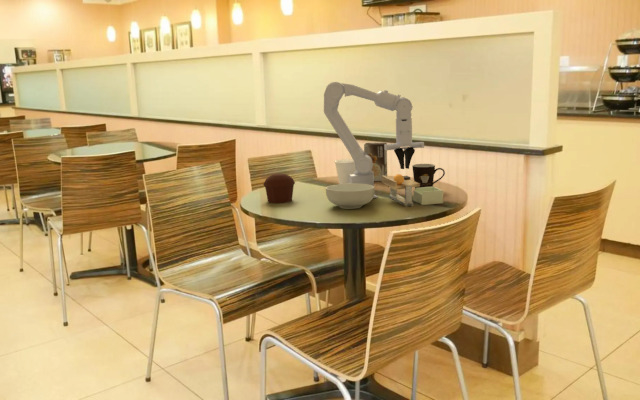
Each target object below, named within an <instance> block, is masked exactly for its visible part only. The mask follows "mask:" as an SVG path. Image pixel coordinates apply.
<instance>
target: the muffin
mask: <svg viewBox="0 0 640 400" xmlns="http://www.w3.org/2000/svg"><path fill="white" fill-rule="evenodd" d="M294 185H296V182H295V180H294V179H293V177H292V176H290V175H289V174H286V173H282V172H281V173H273V174H271V175H269V176H267V178H266V179H265V180H264V182H263V186H264V189H265V194H266V198H267V202H268V203H271V204H284V203H290V202H292V200H293V194H294Z"/></svg>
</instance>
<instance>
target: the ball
mask: <svg viewBox="0 0 640 400" xmlns="http://www.w3.org/2000/svg"><path fill="white" fill-rule="evenodd" d="M403 176H404V175H402V174H399V173H398V174H395V175H394V177H393V178H394V181H396V182H397V185H400V184H402V183H403V182H404V177H403Z"/></svg>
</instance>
